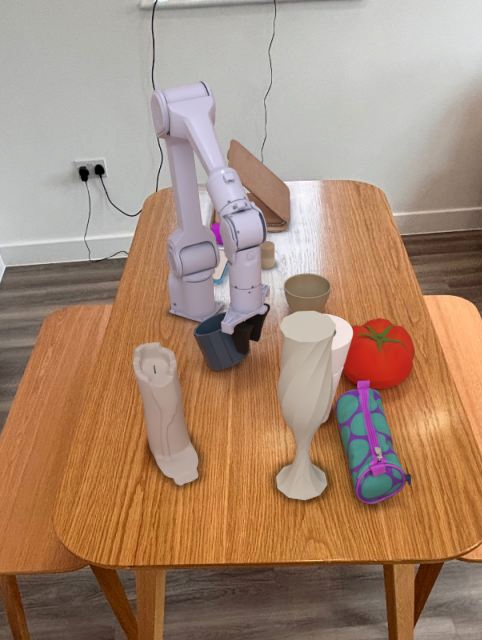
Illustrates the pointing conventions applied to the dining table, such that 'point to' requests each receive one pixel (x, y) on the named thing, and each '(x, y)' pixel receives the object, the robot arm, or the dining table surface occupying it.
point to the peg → (267, 255)
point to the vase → (305, 395)
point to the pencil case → (369, 445)
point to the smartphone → (220, 268)
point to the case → (259, 188)
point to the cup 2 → (339, 351)
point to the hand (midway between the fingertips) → (248, 346)
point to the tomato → (379, 354)
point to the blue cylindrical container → (217, 343)
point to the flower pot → (307, 292)
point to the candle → (164, 412)
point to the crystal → (217, 233)
